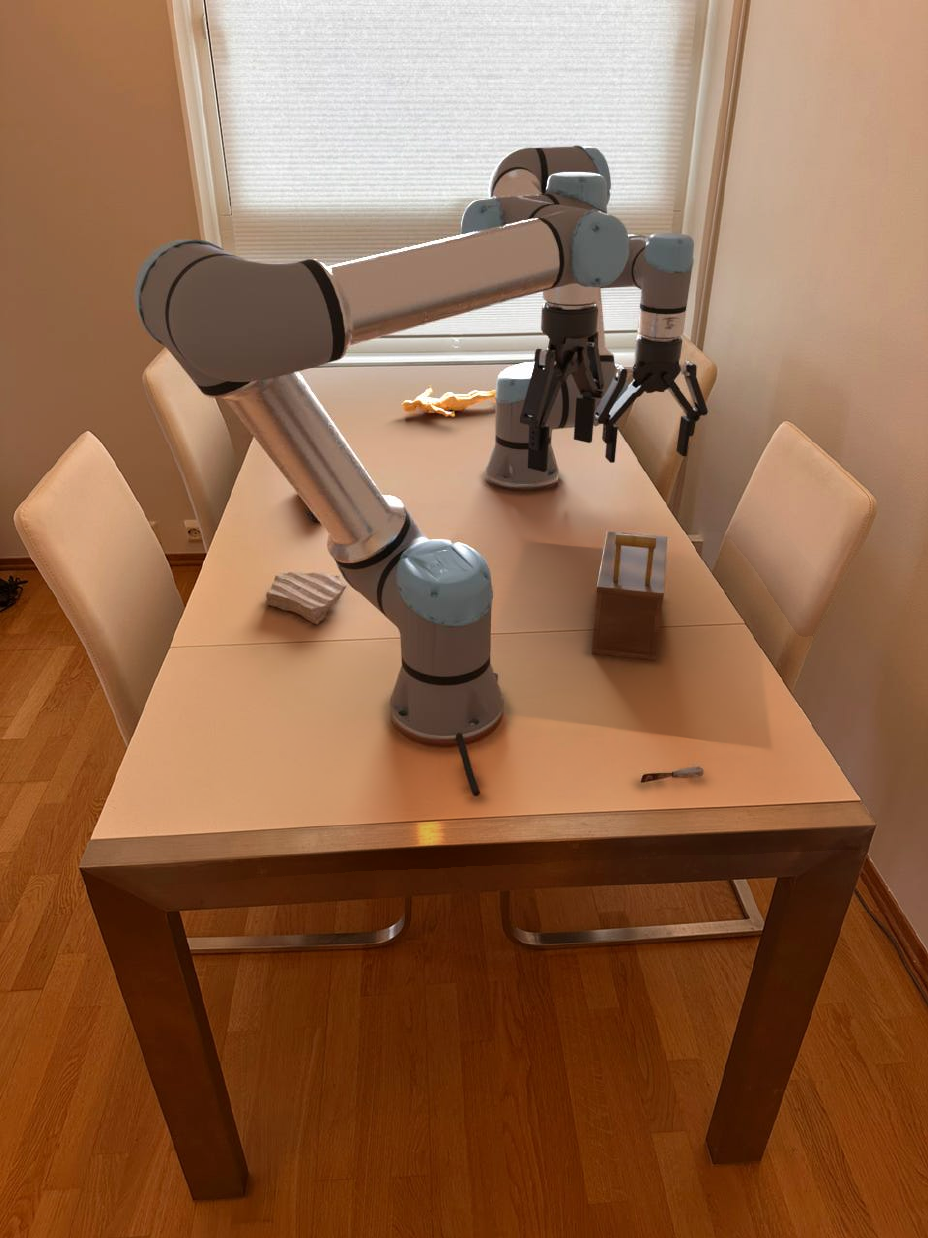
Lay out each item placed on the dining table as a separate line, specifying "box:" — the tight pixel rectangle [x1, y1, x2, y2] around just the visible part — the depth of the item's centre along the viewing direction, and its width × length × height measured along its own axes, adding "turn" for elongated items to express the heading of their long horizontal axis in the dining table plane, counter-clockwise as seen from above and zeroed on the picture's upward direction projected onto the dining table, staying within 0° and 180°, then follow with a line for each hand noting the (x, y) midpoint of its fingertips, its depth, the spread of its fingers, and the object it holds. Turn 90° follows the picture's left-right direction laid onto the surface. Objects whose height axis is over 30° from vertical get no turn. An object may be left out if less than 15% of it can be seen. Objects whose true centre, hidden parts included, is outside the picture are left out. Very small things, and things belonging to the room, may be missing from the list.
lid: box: [595, 530, 668, 600], centre depth 131 cm, size 18×9×8 cm, turn 168°
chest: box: [591, 592, 664, 661], centre depth 136 cm, size 17×9×11 cm, turn 168°
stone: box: [265, 571, 347, 625], centre depth 145 cm, size 13×12×2 cm
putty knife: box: [640, 765, 705, 784], centre depth 109 cm, size 1×8×2 cm, turn 103°
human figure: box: [402, 385, 496, 418], centre depth 225 cm, size 20×20×4 cm
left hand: (560, 454), depth 129 cm, fingers open, 13 cm apart
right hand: (645, 456), depth 159 cm, fingers open, 13 cm apart
